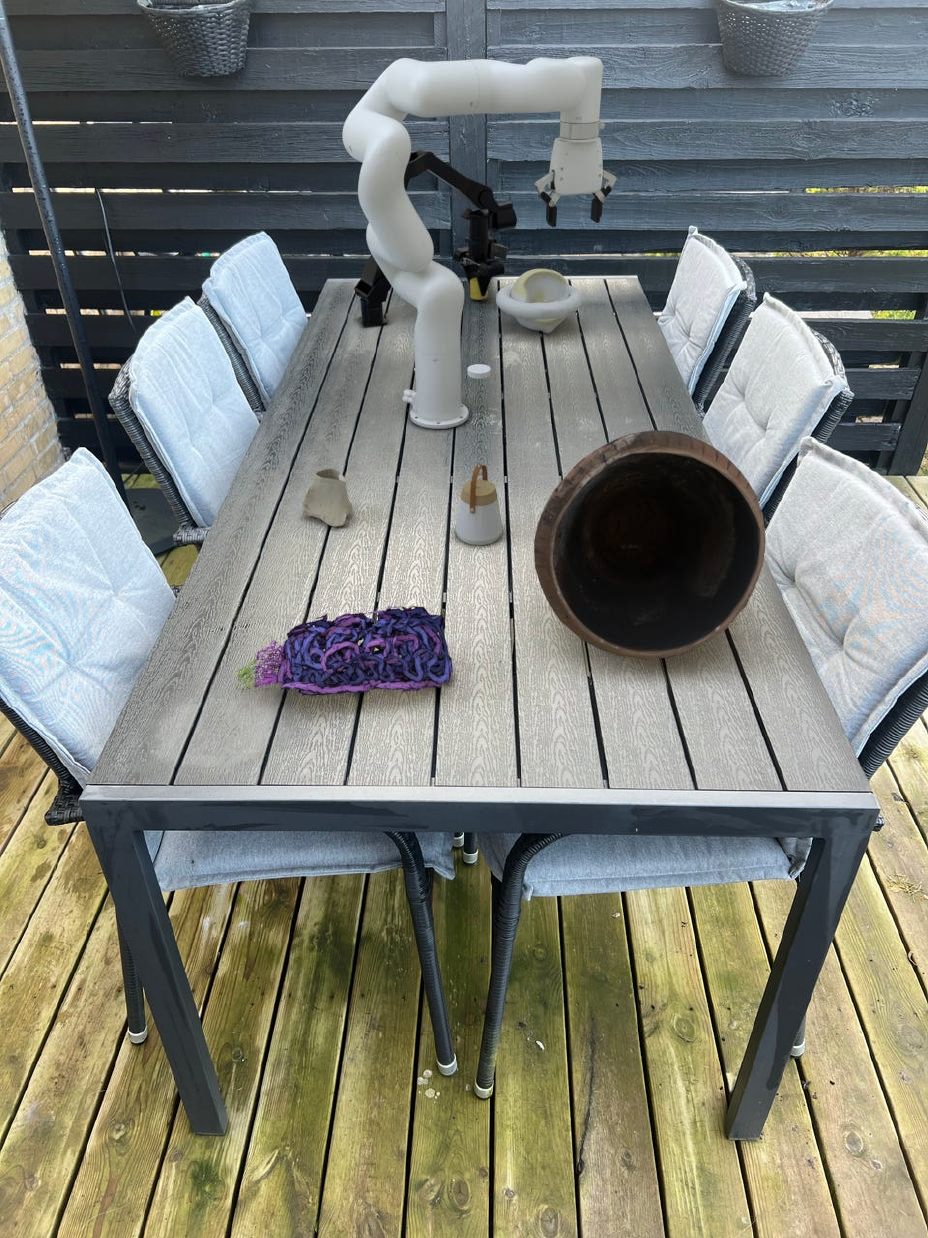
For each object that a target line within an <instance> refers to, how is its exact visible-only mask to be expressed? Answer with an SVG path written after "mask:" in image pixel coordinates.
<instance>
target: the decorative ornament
mask: <svg viewBox="0 0 928 1238" xmlns="http://www.w3.org/2000/svg"><path fill="white" fill-rule="evenodd" d="M401 608H402V609H400V607H398V606H391V605H390V606H387V608H386V609H385V610H375V611H369V612H357V613H347V612H346V613H345V614H341V615H339V616H336V617H335V619H333V620H328V613H325V614H323V615H322V616H317V617H316V618H314V620H313V621H309V622H303V623H300V624H298V625H294V627H292V628H291V629H290V630H289V631H288V632H287V633H286V636H287V639H286V640H284V643H283V644H280V645H278V646H277V644H278V641H277V640H274V639H273V640H272V641H270V643H268V644H269V646H265V649H264V648H262V649H261V650H260V651H259V650H258V651H257V653H256V655H255V656H254V657H255V658H254V659H253V660H252V661H250V663H248V664H247V665H245V666H243V667H241V668H239V669H238V670H236V673H235V675H236V677H235V679H238V681H239V683H238V684H237V686H236V688H235V690H238V689H240V687H239V686H242V685H243V684H244V685H243V686H242V687H241V689H242V690H241V693H243V692H244V690H251V689H260V688H261V689H260V690H262V691H263V688H264V686H266V688H267V690H268V689H269V690H270V689H273V687H269V688H268V686H271V685H276V689H280V690H285V692H286V693H289V691H290V690H298V691H297V693H298V695H301V696H310V697H311V696H312V697H317V696H331V695H342V694H347V693H348V694H365V693H370V690H395V691H397V690H402V691H403V692H404V693H405V692H419V691H420V690H421V689H433V688H434V689H436V688H438V689H439V688H442V684H444V683H445V684H446V683H450V680H451V677H452V673H453V672H454V670H453V658H452V657H451V656H450V654H449V652H450V651H449V647H448V643H447V640H446V635H445V633H444V630H445V629H446V621H445V617H444V616H443V614H430V613H429V612H428V610H427V609H426V608H425V607H424V606H419V605H418V606H416V605H412V606H410V607H405V606H401ZM366 614H376V618H377V619H376V618H375V619H374V618H370V617H368V616H367V615H366ZM373 621H375V622H373ZM360 641H361V642H360ZM359 642H360V644H359ZM276 646H277V647H276ZM376 649H377V650H376ZM265 653H267V655H265ZM251 666H253V667H251ZM265 666H266V667H265ZM253 674H254V675H253ZM425 675H426V676H425ZM278 685H280V686H278ZM277 686H278V687H277Z"/></svg>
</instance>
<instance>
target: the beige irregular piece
mask: <svg viewBox="0 0 928 1238" xmlns="http://www.w3.org/2000/svg"><path fill="white" fill-rule="evenodd" d="M347 489H348V488H347V480H346V478H345V476H344V475H343V474H342V473H341V472H340V471H338V470H337V469H334V468H326V469H321V470H319V471H316V473H315V475H314V476H313V478H312V481H311V482H310V485H309V486H308V487H307V490H306V491H305V493H304V496H303V498H302V508H301V513H302V514H303V515H305V516H307V517H314V518H317V519H319V520H322V521H323V522H324V523H325V524H327V525H328V526H330V527H334V528H336V527H342V526H344V525H345V524H346V520H347V516H348V515H349V514H351V512H352V511H353V503H352V502H351V501H350V499H349V495H348V490H347Z"/></svg>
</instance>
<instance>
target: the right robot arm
mask: <svg viewBox="0 0 928 1238" xmlns="http://www.w3.org/2000/svg"><path fill="white" fill-rule="evenodd" d="M603 71H604V67H603V62H602V60H601V59H600V58H598V57H596V56H587V55H579V56H577V55H576V56H571V57H568V58H553V57H552V58H551V57H536V58H533V59H532V60H530V61H528V62H527V63H526V64H522V63H521V64H520V63H519V64H518V63H512V62H506V61H502V60H497V59H488V58H487V59H486V58H477V59H476V58H475V59H463V60H461V59H460V60H459V59H458V60H440V61H439V60H437V61H422V60H418V59H414V58H409V57H402V58H398V59H396V60H395V61H393V62H392V63H391V64H390V65H389V66H388V67H386V68H385V70H383V72H382V73H381V74H380V75H379V76H378V78H377V79H376V80H375V81H374V83H373V84H372V85H371V86H370V87H369V89H368V90H367V91H366V93H365V94H364V95H363V96H362V98H361V99H360V100H359V101H358V103H357V104H356V105H355V106H354V108H353V109H352V110H351V111H350V113H349V114H348V116H347V118H346V119H345V121H344V124H343V127H342V133H341V134H342V135H341V137H342V144H343V146H344V148H345V150H346V152H347V153H348V154H349V156H351V157H352V158H353V159H354V160H356V161H358V162H360V163H362V164H361V167H360V172H359V175H358V176H359V177H358V183H357V184H358V185H357V197H358V202H359V205H360V208H361V209H362V213H363V214H364V216H365V217H366V219H367V221H368V224H367V226H366V231H365V232H366V233H365V237H366V239H365V240H366V244H367V247H368V250H369V251H370V255H371V254H372V255H373V257H374V259H375V260H376V262H377V264H378V265H379V267H380V268H381V270H382V272H383V273H384V275H385V276H386V278H387V279H388V281H389V282H390V284H391V286H392V287H391V288H392V289H393V290H394V291H395V293H396V294H397V295H398V297H400V298H401V299H402V300H404V301H405V302H406V303H408V304H410V305H411V306H413V307H414V308H415V309H416V311H417V316H416V321H415V324H414V330H413V350H414V369H415V390H414V389H413V390H412V389H408V388H406V389H404V391H403V396H402V402H403V403H406V404H411V406H412V408H411V409H410V411H409V418H410V420H411V422H412V423H414V424H416V426H418V427H421V428H426V429H430V430H431V429H433V430H443V429H445V430H446V429H451V428H455V427H459V426H460V425H463V424H464V423H465V422H466V421H468V419H469V414H470V413H469V409H468V407H467V406H466V405H464V404H462V369H461V368H462V366H461V365H462V363H461V362H462V358H461V357H462V356H461V355H462V353H461V351H462V350H461V348H462V347H461V326H462V316H463V311H464V310H463V309H464V303H465V288H464V285H463V283H462V281H461V279H460V278H459V276H458V275H457V274H456V273H455V272H454V271H453V270H451V269H450V268H448V267H446V266H444V265H443V264H440V263H439V262H437V261H434V260H433V258H434V253H435V252H434V249H435V248H434V242H433V239H432V237H431V234H430V233H429V231H428V229H427V228H426V226H425V224H424V223H423V221H422V219H421V218H420V215H419V213H418V212H417V210H416V209H415V207H414V206H413V203H412V201H411V199H410V197H409V195H408V193H407V190H406V191H405V188H404V174H405V170H406V167H407V164H408V161H409V158H410V153H411V152H412V141H411V136H410V134H409V132H408V130H407V128H406V127H405V126H404V125H403V124H402V123H403V122H404V120H405V119H406V117H407V116H408V115H412V116H415V117H419V118H429V119H431V118H443V117H455V116H467V115H469V116H470V115H481V114H482V115H483V114H490V115H504V114H546V113H556V112H560V117H559V133H558V134H559V135H558V137H556V138H555V139H554V142H553V146H552V151H551V155H550V163H549V170H548V171H549V172H548V173H547V174H546V175H544V176H542V177H541V178H539V179H538V180H537V181H535V182H534V186H535V189H536V191H537V193H538V196H539V198H540V199H541V200H542V201H543V202H544V203H545V204H546V207H545V221H546V223H547V225H548V226H549V227H551V228H556V227H557V218H558V206H556V204H557V202H558V201H559V200H560V198H561V197H563V196H564V197H567V196H578V195H588V194H591V195H592V196H593V198H592V200H591V204H590V205H591V206H590V220H591V221H592V222H594V223H596V224H599V223H600V222H601V217H602V216H603V205H604V202H605V201H606V197H608V196H609V194H610V193H612V191H613V190H612V189H613V187H614V186H615V184H616V181H617V176H615V175H614V174H613V173H610V172H609V171H607V170H605V169H603V167H604V166H603V163H604V161H603V147H602V139H601V137H599V136H600V132H601V131H605V129H606V124H605V122H601V120H600V114H601V113H600V112H601V98H602V86H603ZM603 178H604V179H605V180H606V181H605V184H604V185H603V186H602V184H603ZM546 186H548V189H549V190H550V191H549V192H548V193H547V192H546V189H545V188H546Z"/></svg>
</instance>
